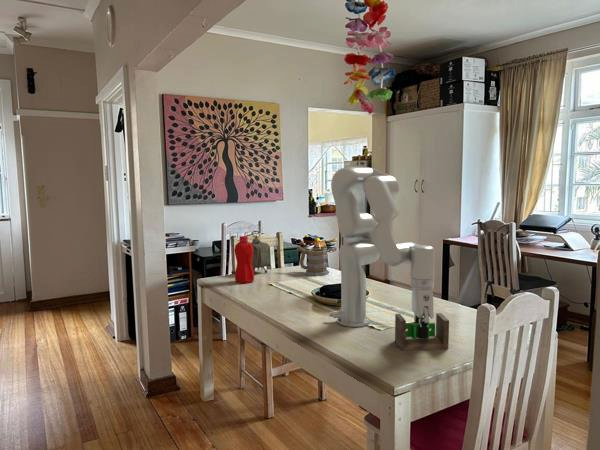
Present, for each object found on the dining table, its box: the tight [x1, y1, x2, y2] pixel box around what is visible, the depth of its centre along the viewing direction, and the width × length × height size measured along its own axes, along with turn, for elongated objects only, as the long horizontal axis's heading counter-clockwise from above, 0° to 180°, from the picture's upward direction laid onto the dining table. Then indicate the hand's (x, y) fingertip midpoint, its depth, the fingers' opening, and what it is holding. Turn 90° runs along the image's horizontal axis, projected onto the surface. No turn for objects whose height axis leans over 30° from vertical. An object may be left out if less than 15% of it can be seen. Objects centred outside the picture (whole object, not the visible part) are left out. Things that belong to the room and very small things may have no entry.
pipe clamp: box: [406, 322, 436, 340], centre depth 150 cm, size 11×4×5 cm, turn 94°
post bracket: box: [394, 312, 450, 350], centre depth 150 cm, size 16×8×10 cm, turn 91°
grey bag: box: [250, 230, 271, 274], centre depth 264 cm, size 14×9×25 cm, turn 49°
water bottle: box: [233, 235, 255, 284], centre depth 240 cm, size 9×11×25 cm
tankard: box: [296, 246, 330, 277], centre depth 262 cm, size 20×13×15 cm, turn 58°
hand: (420, 335), depth 150 cm, fingers closed on pipe clamp, 3 cm apart
